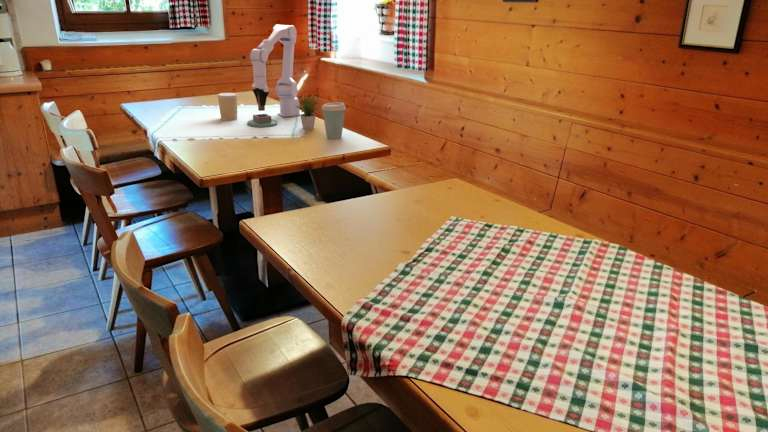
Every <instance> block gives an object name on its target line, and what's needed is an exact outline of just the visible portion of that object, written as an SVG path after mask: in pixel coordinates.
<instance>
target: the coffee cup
mask: <svg viewBox="0 0 768 432" xmlns="http://www.w3.org/2000/svg"><path fill="white" fill-rule="evenodd" d="M217 99H218V100H217V101H218V106H219V114H220V118H221V120H223V121H235V120H238V95H237V93H235V92H220V93H217Z"/></svg>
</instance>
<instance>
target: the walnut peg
mask: <svg viewBox="0 0 768 432" xmlns="http://www.w3.org/2000/svg"><path fill="white" fill-rule="evenodd" d="M257 106H258V108H257V109H258V111H260V112H261V111H262V112H263V111H264V112H265V111H266V109H265V108H266V107H265V106H266V105H265V106H261V105H260V101H259V96H258V104H257Z"/></svg>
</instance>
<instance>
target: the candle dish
mask: <svg viewBox="0 0 768 432" xmlns="http://www.w3.org/2000/svg"><path fill="white" fill-rule="evenodd" d="M277 125H278V121H277V119H273V118H272V116H271V115H270V114H267V113H261V114H253V115H252V119H250V120H248V121H247V126H248V127H254V128H269V127H275V126H277Z"/></svg>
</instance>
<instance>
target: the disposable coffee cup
mask: <svg viewBox="0 0 768 432" xmlns="http://www.w3.org/2000/svg"><path fill="white" fill-rule="evenodd" d="M321 110H322V115H323V123H324V128H325V134H326V135H325V136H326V137H327V139H331V140H332V139H333V140H336V139H341V138H342V134H343V128H344V121H345V113H346V110H347V106H345V103H344V102H341V101H340V102H337V101H336V102H329V103H328V102H327V103H325V104H323V105H321Z"/></svg>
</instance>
